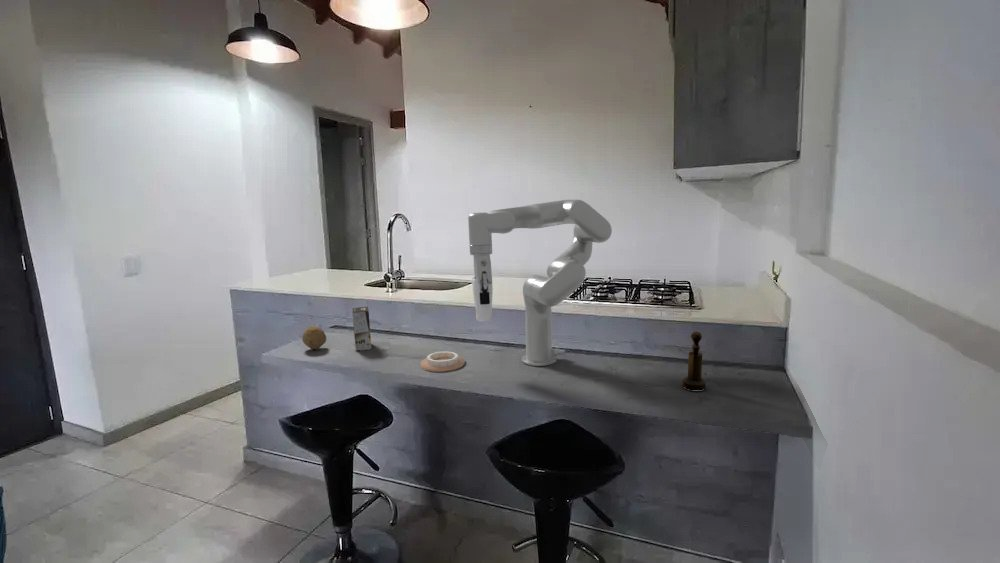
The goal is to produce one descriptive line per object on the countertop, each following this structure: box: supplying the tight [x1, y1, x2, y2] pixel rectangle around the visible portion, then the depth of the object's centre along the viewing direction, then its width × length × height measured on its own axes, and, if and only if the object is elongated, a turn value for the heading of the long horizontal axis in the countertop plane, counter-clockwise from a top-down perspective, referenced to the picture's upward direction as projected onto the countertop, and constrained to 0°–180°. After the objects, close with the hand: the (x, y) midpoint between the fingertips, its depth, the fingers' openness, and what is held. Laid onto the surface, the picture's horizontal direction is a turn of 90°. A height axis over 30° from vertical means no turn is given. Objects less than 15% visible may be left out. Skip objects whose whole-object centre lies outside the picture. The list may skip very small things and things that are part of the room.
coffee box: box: [352, 306, 372, 351], centre depth 198 cm, size 9×6×16 cm
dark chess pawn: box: [682, 330, 707, 390], centre depth 148 cm, size 7×6×18 cm
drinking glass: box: [472, 276, 494, 323], centre depth 165 cm, size 7×7×15 cm
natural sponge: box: [302, 325, 327, 350], centre depth 197 cm, size 9×9×10 cm
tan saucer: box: [420, 351, 466, 373], centre depth 176 cm, size 16×16×3 cm
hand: (483, 301), depth 165 cm, fingers closed on drinking glass, 6 cm apart
